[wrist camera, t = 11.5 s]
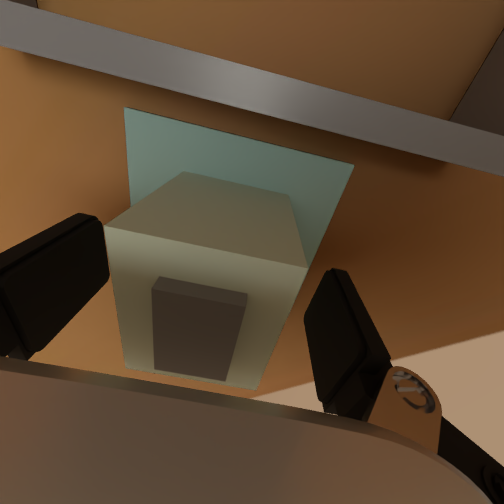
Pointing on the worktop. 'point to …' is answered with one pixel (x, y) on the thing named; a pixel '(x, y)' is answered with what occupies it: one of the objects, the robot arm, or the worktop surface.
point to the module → (205, 278)
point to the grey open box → (272, 88)
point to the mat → (234, 168)
